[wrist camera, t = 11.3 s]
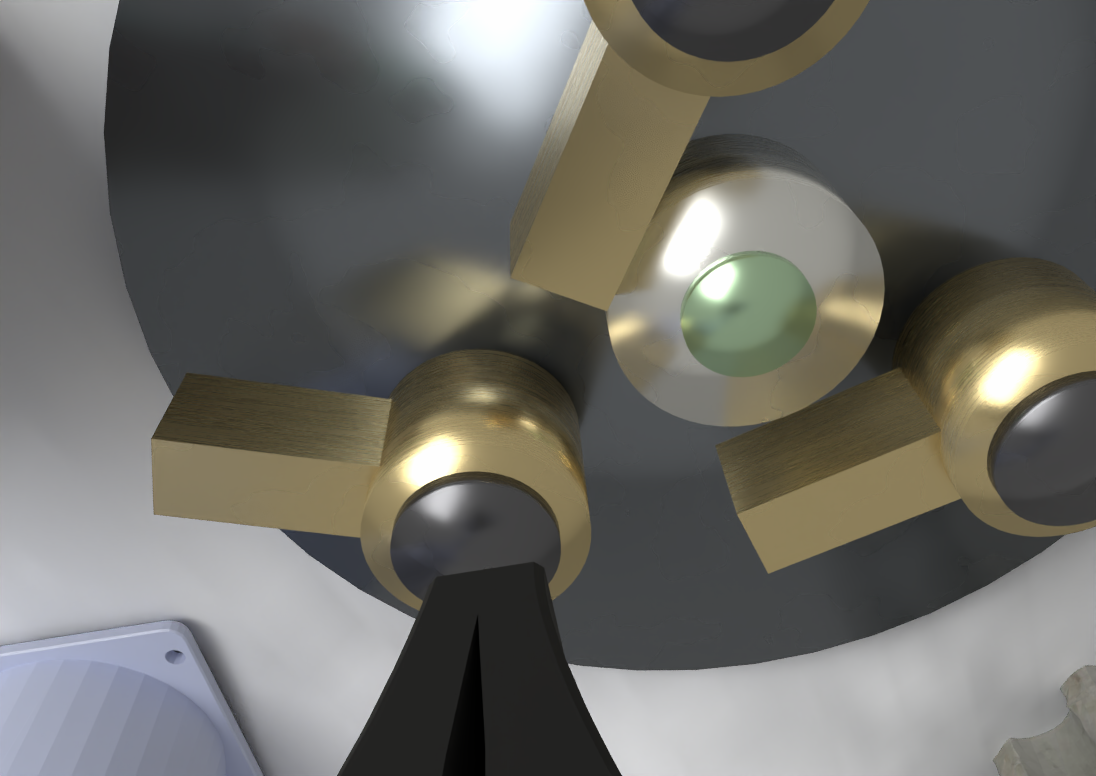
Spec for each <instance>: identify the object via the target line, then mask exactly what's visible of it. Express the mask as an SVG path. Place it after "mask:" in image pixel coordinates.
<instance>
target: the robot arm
mask: <svg viewBox="0 0 1096 776" xmlns="http://www.w3.org/2000/svg"><path fill="white" fill-rule="evenodd" d="M173 650H177V651H180V652H182V653H177V652H175V651H173ZM0 776H264V775H263V773H262V771H261V769H260V767H259V765H258V764H257V762H256V760H255V758H254V756H253V754H252V752H251V750H250V748H249V746H248V744H247V742H246V740H245V738H244V736H243V734H242V732H241V730H240V728H239V726H238V724H237V722H236V720H235V718H234V716H233V714H232V712H231V710H230V708H229V706H228V704H227V702H226V700H225V698H224V696H223V694H222V692H221V690H220V688H219V687H218V685H217V683H216V681H215V679H214V677H213V675H212V673H211V671H210V669H209V667H208V665H207V663H206V661H205V659H204V657H203V655H202V653H201V651H200V649H199V647H198V645H197V643H196V641H195V639H194V637H193V635H192V633H191V631H190V630H189V629H188V628H187V626H185V625H184V624H182V623H180V622H177V621H173V620H170V621H159V622H153V623H146V624H140V625H133V626H127V627H120V628H114V629H107V630H101V631H95V632H88V633H82V634H75V635H69V636H62V637H56V638H50V639H43V640H37V641H30V642H24V643H17V644H11V645H5V646H0ZM337 776H622V775H621V773H620V772H619V770H618V768H617V766H616V764H615V762H614V761H613V759H612V757H611V755H610V753H609V751H608V749H607V747H606V745H605V743H604V741H603V739H602V738H601V736H600V734H599V732H598V730H597V728H596V726H595V724H594V722H593V720H592V718H591V716H590V713H589V711H588V709H587V707H586V705H585V703H584V701H583V698H582V696H581V694H580V691H579V689H578V687H577V684H576V682H575V680H574V677H573V675H572V673H571V670H570V668H569V666H568V663H567V661H566V658H565V655H564V651H563V646H562V642H561V638H560V633H559V629H558V624H557V620H556V616H555V611H554V607H553V603H552V598H551V594H550V590H549V585H548V581H547V577H546V572H545V568H544V567H542V566H541V565H539V564H537V563H535V562H528V563H522V564H515V565H509V566H503V567H496V568H490V569H483V570H477V571H470V572H464V573H458V574H451V575H445V576H438V577H436V578H435V579H434V580H433V581H432V582H431V584H430V585H429V587H428V590H427V592H426V595H425V598H424V600H423V603H422V605H421V608H420V610H419V613H418V615H417V617H416V620H415V622H414V625H413V627H412V629H411V632H410V634H409V636H408V639H407V641H406V643H405V645H404V647H403V650H402V652H401V654H400V656H399V658H398V661H397V663H396V665H395V667H394V669H393V671H392V673H391V675H390V677H389V679H388V681H387V683H386V685H385V687H384V689H383V691H382V693H381V695H380V697H379V699H378V701H377V703H376V705H375V707H374V709H373V711H372V713H371V715H370V717H369V719H368V721H367V723H366V725H365V727H364V729H363V731H362V733H361V734H360V736H359V738H358V740H357V741H356V743H355V745H354V747H353V748H352V750H351V752H350V754H349V755H348V757H347V759H346V761H345V762H344V764H343V766H342V768H341V769H340V771H339V773H338V775H337Z"/></svg>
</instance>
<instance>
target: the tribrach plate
mask: <svg viewBox="0 0 1096 776" xmlns="http://www.w3.org/2000/svg"><path fill="white" fill-rule="evenodd" d="M591 22H592V18H591V16H590V13H589V11H588V9H587V7H586V5H585V3H584V0H120V1H119V5H118V10H117V15H116V20H115V24H114V29H113V34H112V39H111V43H110V48H109V63H108V78H107V93H106V109H105V124H104V140H105V153H106V166H107V180H108V193H109V206H110V214H111V219H112V224H113V228H114V233H115V237H116V242H117V247H118V251H119V256H120V260H121V265H122V270H123V274H124V279H125V283H126V287H127V290H128V293H129V295H130V298H131V301H132V303H133V306H134V309H135V312H136V314H137V317H138V320H139V323H140V325H141V328H142V331H143V334H144V336H145V339H146V342H147V345H148V347H149V350H150V353H151V355H152V357H153V359H154V360H155V362H156V364H157V366H158V368H159V370H160V372H161V374H162V376H163V378H164V380H165V381H166V383H167V385H168V387H169V389H170V391H171V393H172V395H173V397H174V395H175V394H176V392H177V390H178V388H179V386H180V384H181V382H182V381H183V379H184V377H185V375H186V373H195V374H202V375H210V376H218V377H225V378H233V379H240V380H248V381H256V382H263V383H271V384H279V385H286V386H294V387H302V388H309V389H317V390H325V391H332V392H340V393H348V394H355V395H363V396H370V397H378V398H386V399H388V398H389V396H390V394H391V392H392V391H393V389H394V388H395V387H396V385H397V384H398V383H399V382H400V381H401V380H402V379H403V378H404V377H405V376H406V375H407V374H408V373H409V372H411V371H412V370H413V369H415V368H416V367H417V366H419V365H421V364H422V363H424V362H426V361H428V360H430V359H432V358H435V357H437V356H440V355H443V354H446V353H450V352H454V351H460V350H466V349H490V350H498V351H503V352H508V353H512V354H515V355H518V356H521V357H523V358H525V359H528V360H530V361H532V362H534V363H536V364H537V365H539V366H540V367H542V368H544V369H545V370H546V371H548V372H549V373H550V374H551V375H552V376H554V377H555V378H556V379H557V380H558V382H559V383H560V384H561V385H562V386H563V387H564V389H565V390H566V392H567V393H568V394H569V396H570V398H571V400H572V402H573V404H574V406H575V409H576V413H577V416H578V422H579V428H580V437H581V446H582V454H583V463H584V472H585V480H586V489H587V497H588V506H589V515H590V523H591V543H590V549H589V553H588V556H587V559H586V562H585V564H584V566H583V568H582V570H581V571H580V573H579V575H578V576H577V577H576V579H575V580H574V581H573V583H572V584H571V585H570V586H569V587H568V588H567V589H566V590H565V591H564V592H563V593H561V594H560V595H559V596H558V597H556V598H555V599H554V600H552V603H553V607H554V611H555V616H556V620H557V624H558V629H559V633H560V638H561V642H562V646H563V651H564V655H565V658H566V661H567V663H569V664H574V665H580V666H592V667H604V668H616V669H628V670H699V669H708V668H718V667H728V666H738V665H748V664H756V663H762V662H767V661H772V660H777V659H782V658H787V657H793V656H798V655H803V654H808V653H813V652H817V651H820V650H824V649H827V648H831V647H834V646H838V645H841V644H845V643H848V642H852V641H855V640H859V639H862V638H866V637H869V636H872V635H875V634H878V633H880V632H883V631H885V630H888V629H891V628H893V627H896V626H898V625H901V624H904V623H906V622H909V621H911V620H914V619H917V618H919V617H922V616H924V615H927V614H929V613H932V612H934V611H936V610H938V609H940V608H942V607H944V606H946V605H948V604H950V603H952V602H954V601H956V600H958V599H960V598H962V597H964V596H966V595H968V594H970V593H972V592H974V591H976V590H978V589H980V588H982V587H984V586H987V585H988V584H990V583H991V582H993V581H995V580H996V579H998V578H1000V577H1001V576H1003V575H1005V574H1006V573H1008V572H1010V571H1011V570H1013V569H1015V568H1016V567H1018V566H1019V565H1021V564H1023V563H1024V562H1026V561H1028V560H1029V559H1031V558H1033V557H1034V556H1036V555H1038V554H1039V553H1041V552H1042V551H1044V550H1045V549H1046V548H1048V547H1049V546H1050V545H1052V544H1053V543H1055V542H1056V541H1057V540H1059V539H1060V538H1061V537H1063V536H1064V535H1058V536H1047V537H1032V536H1022V535H1016V534H1011V533H1007V532H1004V531H1001V530H998V529H996V528H994V527H992V526H990V525H988V524H986V523H985V522H983V521H982V520H980V519H979V518H977V517H976V516H975V515H974V514H973V513H972V512H971V511H970V510H969V508H968V507H967V506H966V504H965V503H964V502H963V500H962V499H958V500H956V501H953V502H951V503H948V504H946V505H943V506H941V507H938V508H935V509H933V510H930V511H928V512H925V513H923V514H920V515H917V516H915V517H912V518H910V519H907V520H905V521H902V522H900V523H897V524H894V525H892V526H889V527H887V528H884V529H882V530H879V531H876V532H874V533H871V534H869V535H866V536H864V537H861V538H859V539H856V540H853V541H851V542H848V543H846V544H843V545H841V546H838V547H835V548H833V549H830V550H828V551H825V552H823V553H820V554H818V555H815V556H812V557H810V558H807V559H805V560H802V561H800V562H797V563H795V564H792V565H789V566H787V567H784V568H782V569H779V570H777V571H774V572H771V573H769V574H768V572H767V570H766V568H765V566H764V565H763V563H762V561H761V559H760V557H759V555H758V553H757V551H756V549H755V548H754V546H753V544H752V542H751V540H750V538H749V536H748V534H747V532H746V530H745V529H744V527H743V525H742V523H741V521H740V519H739V517H738V515H737V513H736V510H735V507H734V503H733V500H732V497H731V494H730V491H729V488H728V484H727V481H726V478H725V475H724V472H723V469H722V465H721V462H720V459H719V456H718V453H717V450H716V446H715V445H717V444H719V443H722V442H724V441H727V440H729V439H731V438H734V437H736V436H738V435H741V434H743V433H745V432H748V431H750V430H752V429H755V428H757V427H760V426H762V425H764V424H767V423H769V422H771V421H774V420H776V419H779V418H782V417H785V416H788V415H790V414H792V413H794V412H797V411H799V410H801V409H803V408H805V407H807V406H809V405H811V404H814V403H816V402H818V401H821V400H823V399H825V398H828V397H830V396H832V395H835V394H837V393H840V392H842V391H844V390H847V389H849V388H851V387H854V386H856V385H858V384H861V383H863V382H865V381H868V380H870V379H873V378H875V377H877V376H880V375H882V374H884V373H887V372H889V371H891V370H892V358H893V353H894V348H895V345H896V342H897V339H898V337H899V335H900V333H901V331H902V329H903V327H904V325H905V323H906V322H907V320H908V319H909V317H910V316H911V314H912V313H913V312H914V310H915V309H916V308H917V307H918V306H919V304H920V303H921V302H922V301H923V300H924V299H925V298H926V297H927V296H928V295H929V294H930V293H931V292H933V291H934V290H935V289H937V288H938V287H939V286H940V285H942V284H943V283H944V282H946V281H948V280H949V279H951V278H952V277H954V276H956V275H958V274H960V273H962V272H963V271H965V270H967V269H970V268H972V267H975V266H978V265H980V264H983V263H987V262H990V261H994V260H999V259H1006V258H1016V257H1028V258H1039V259H1043V260H1047V261H1051V262H1054V263H1056V264H1059V265H1062V266H1064V267H1065V268H1067V269H1069V270H1070V271H1072V272H1073V273H1075V274H1076V275H1077V276H1078V277H1079V278H1080V279H1082V280H1083V281H1084V282H1085V283H1086V284H1087V285H1089V286H1090V287H1091V288H1092V289H1093V290H1094V291H1096V0H870V1H869V2H868V4H867V6H866V7H865V9H864V11H863V12H862V14H861V15H860V17H859V18H858V20H857V21H856V22H855V23H854V25H853V26H852V27H851V29H850V30H849V31H848V33H847V34H846V35H845V36H844V37H843V38H842V39H841V40H840V41H839V42H838V43H837V44H836V45H835V46H834V47H833V48H832V49H831V50H830V51H829V52H828V53H827V54H826V55H824V56H823V57H822V58H821V59H820V60H818V61H817V62H816V63H815V64H813V65H812V66H810V67H809V68H807V69H806V70H804V71H802V72H801V73H799V74H798V75H796V76H794V77H792V78H790V79H788V80H786V81H784V82H782V83H780V84H778V85H775V86H772V87H769V88H766V89H764V90H761V91H757V92H752V93H748V94H743V95H737V96H725V97H712V96H710V99H709V101H708V103H707V105H706V107H705V109H704V111H703V113H702V115H701V117H700V119H699V121H698V123H697V126H696V128H695V130H694V132H693V134H692V136H691V138H690V140H689V142H688V144H687V146H686V148H685V150H684V153H683V155H682V157H681V159H680V161H679V163H678V165H677V167H676V169H675V171H674V173H673V175H672V177H671V180H670V182H669V184H668V186H667V188H666V190H665V192H664V194H663V196H662V198H661V200H660V202H659V204H658V207H657V209H656V211H655V213H654V215H653V217H652V219H651V221H650V223H649V225H648V227H647V229H646V232H645V234H644V236H643V238H642V240H641V242H640V244H639V246H638V248H637V250H636V252H635V254H634V256H633V259H632V261H631V263H630V265H629V267H628V269H627V271H626V273H625V275H624V277H623V279H622V281H621V283H620V286H619V288H618V290H617V292H616V294H615V296H614V298H613V300H612V302H611V304H610V306H609V308H608V310H607V311H605V310H602V309H599V308H596V307H593V306H590V305H587V304H585V303H582V302H579V301H576V300H573V299H570V298H567V297H564V296H561V295H559V294H556V293H553V292H550V291H547V290H544V289H541V288H538V287H536V286H533V285H530V284H527V283H524V282H521V281H518V280H515V279H512V278H510V222H511V220H512V217H513V215H514V212H515V210H516V207H517V205H518V202H519V200H520V197H521V195H522V192H523V190H524V187H525V185H526V183H527V180H528V178H529V175H530V173H531V170H532V168H533V165H534V163H535V160H536V158H537V155H538V153H539V150H540V148H541V145H542V143H543V140H544V138H545V136H546V133H547V131H548V128H549V126H550V123H551V121H552V118H553V116H554V113H555V111H556V108H557V106H558V103H559V101H560V98H561V96H562V94H563V91H564V89H565V86H566V84H567V81H568V79H569V76H570V74H571V71H572V69H573V66H574V64H575V61H576V59H577V56H578V54H579V52H580V49H581V47H582V44H583V42H584V39H585V37H586V34H587V32H588V29H589V27H590V24H591ZM280 530H281V531H282V532H283V533H285V534H286V535H287V536H288V537H289V538H290V539H291V540H293V541H294V542H295V543H296V544H297V545H298V546H300V547H301V548H302V549H303V550H304V551H305V552H306V553H308V554H309V555H310V556H311V557H313V558H314V559H316V560H317V561H319V562H320V563H322V564H323V565H325V566H326V567H328V568H329V569H330V570H332V571H333V572H335V573H336V574H338V575H339V576H341V577H342V578H344V579H345V580H347V581H348V582H350V583H351V584H352V585H354V586H355V587H357V588H358V589H360V590H362V591H364V592H365V593H367V594H369V595H371V596H373V597H375V598H377V599H379V600H381V601H382V602H384V603H386V604H388V605H390V606H392V607H394V608H396V609H397V610H399V611H401V612H403V613H405V614H407V615H409V616H411V617H413V618H415V619H416V617H417V615H418V613H419V610H417V609H414V608H412V607H410V606H408V605H407V604H405V603H404V602H402V601H400V600H399V599H397V598H396V597H395V596H394V595H392V594H391V593H390V592H389V591H388V590H386V588H385V587H384V586H383V585H382V584H381V583H380V582H379V581H378V580H377V578H376V577H375V575H374V574H373V573H372V571H371V569H370V568H369V566H368V564H367V562H366V559H365V556H364V553H363V550H362V545H361V538H358V537H349V536H340V535H331V534H323V533H314V532H305V531H296V530H287V529H280Z"/></svg>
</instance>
